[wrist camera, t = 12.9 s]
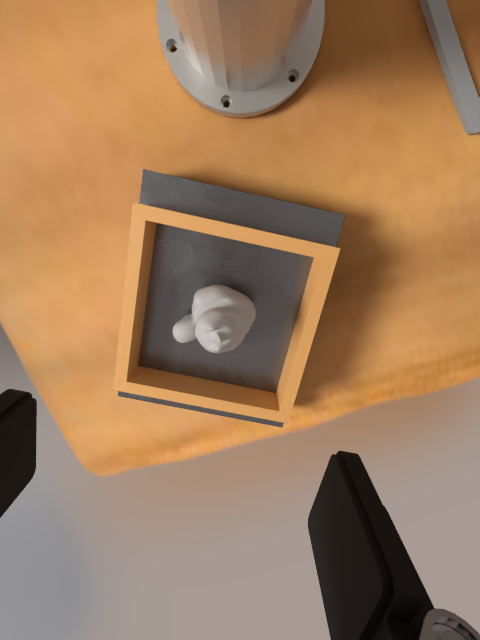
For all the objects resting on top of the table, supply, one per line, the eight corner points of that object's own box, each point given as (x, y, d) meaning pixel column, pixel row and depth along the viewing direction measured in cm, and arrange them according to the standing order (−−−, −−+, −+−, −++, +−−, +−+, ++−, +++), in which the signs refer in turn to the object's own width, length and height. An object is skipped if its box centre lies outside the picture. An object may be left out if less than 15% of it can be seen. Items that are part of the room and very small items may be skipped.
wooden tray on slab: (156, 176, 28) (129, 161, 21) (331, 216, 29) (358, 214, 22) (132, 376, 34) (104, 414, 27) (278, 404, 35) (286, 448, 28)
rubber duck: (262, 330, 28) (269, 371, 20) (191, 349, 28) (172, 396, 21) (245, 271, 26) (245, 291, 19) (170, 293, 27) (141, 320, 19)
